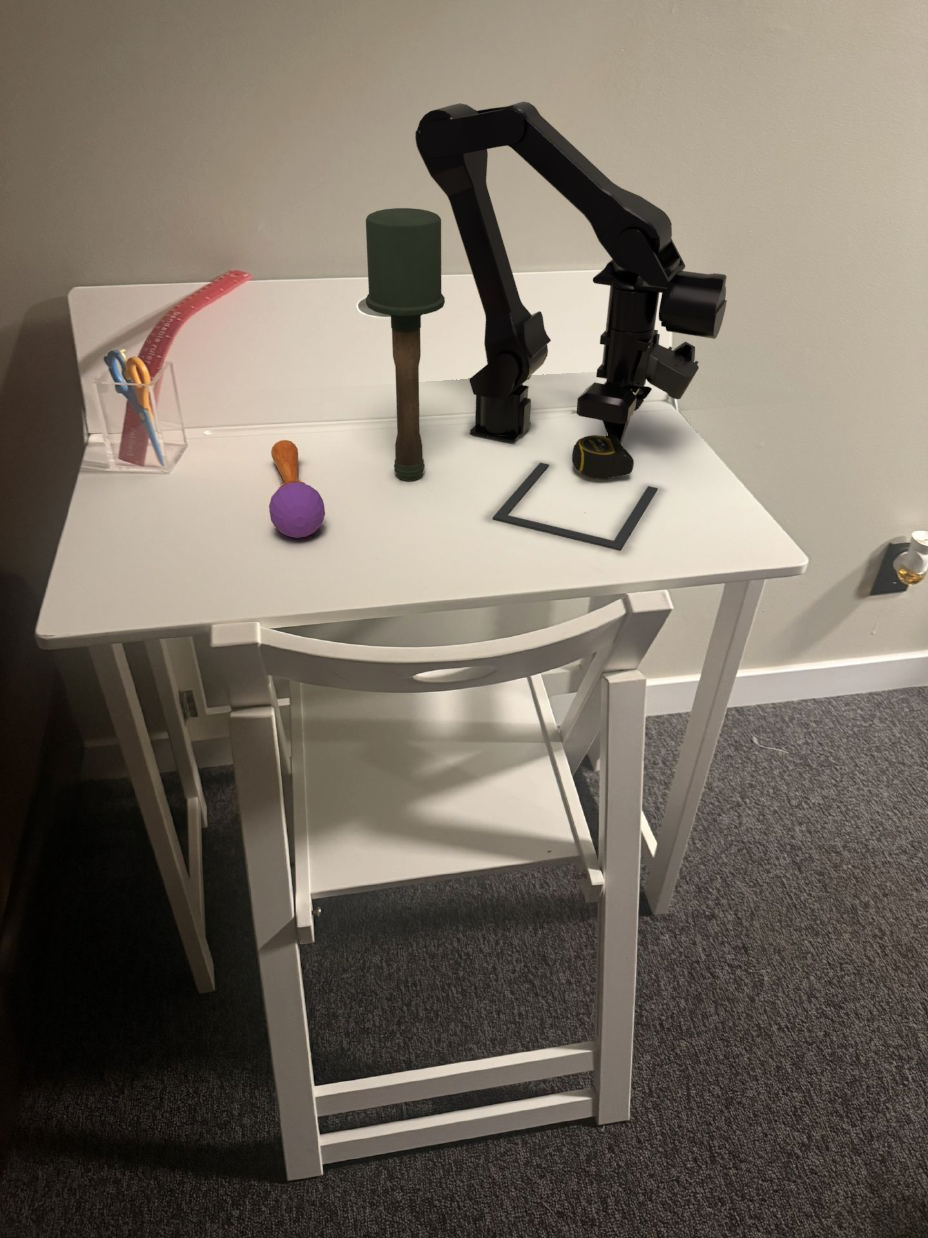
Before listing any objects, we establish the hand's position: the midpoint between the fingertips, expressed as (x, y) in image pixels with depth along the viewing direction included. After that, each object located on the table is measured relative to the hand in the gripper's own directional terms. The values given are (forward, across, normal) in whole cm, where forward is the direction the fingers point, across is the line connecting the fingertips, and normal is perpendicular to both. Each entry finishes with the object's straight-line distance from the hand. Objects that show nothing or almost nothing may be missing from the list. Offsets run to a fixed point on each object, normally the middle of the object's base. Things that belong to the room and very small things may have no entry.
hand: (616, 444), depth 116 cm
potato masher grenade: (+1, -17, +21) cm, 27 cm away
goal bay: (+1, -14, 0) cm, 14 cm away
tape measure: (+1, -5, 0) cm, 5 cm away
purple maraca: (+1, -29, +30) cm, 42 cm away
